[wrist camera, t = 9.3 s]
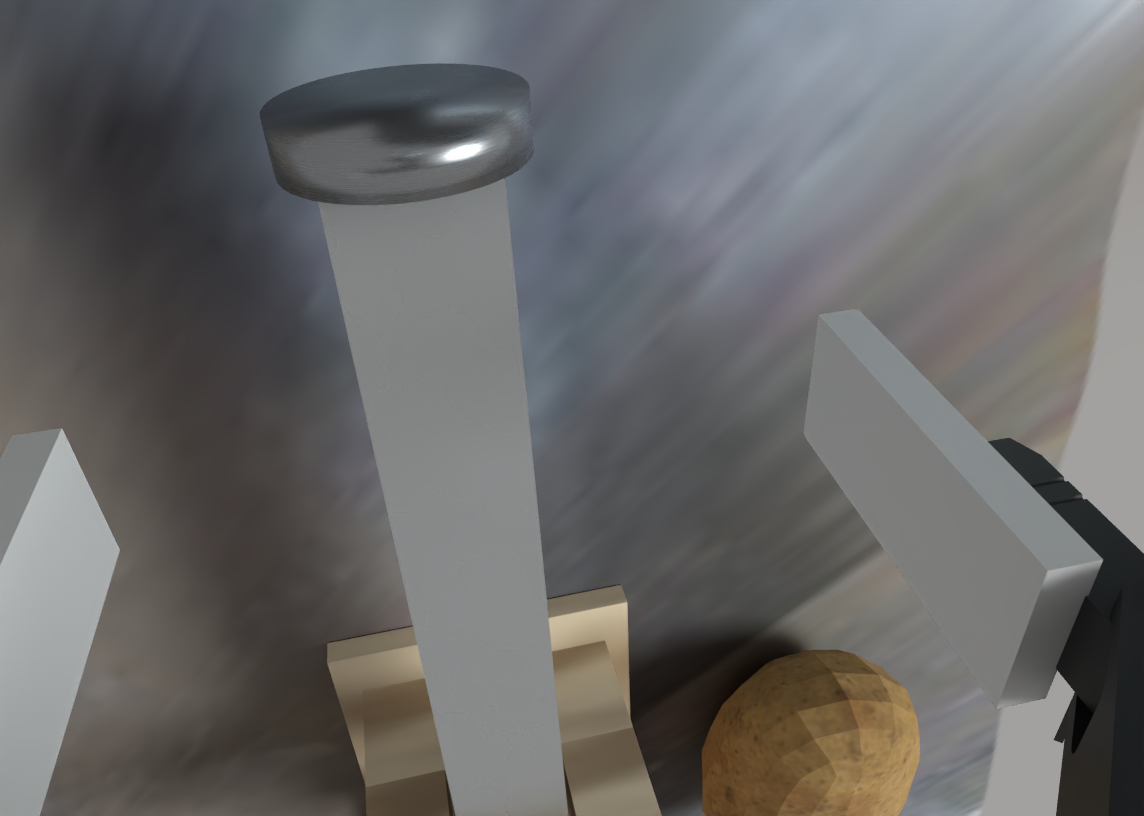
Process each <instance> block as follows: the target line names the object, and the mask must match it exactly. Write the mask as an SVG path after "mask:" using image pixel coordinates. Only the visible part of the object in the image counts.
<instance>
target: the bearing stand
mask: <svg viewBox="0 0 1144 816" xmlns="http://www.w3.org/2000/svg"><path fill="white" fill-rule="evenodd" d="M547 607H548V617H549V627H550V637H551V647H552V657H553V668H554V678H555V688H556V698H557V708H558V718H559V728H560V738H561V748H562V758H563V768H564V778H565V789H566V799H567V809H568V816H662V815H661V812H660V809H659V806H658V803H657V800H656V796H655V793H654V790H653V787H652V784H651V781H650V778H649V775H648V772H647V769H646V766H645V763H644V759H643V756H642V753H641V750H640V747H639V744H638V741H637V738H636V735H635V732H634V729H633V726H632V722H631V719H630V688H629V651H628V614H627V600H626V598H625V595H624V592H623V589H622V587H621V585H617V586H612V587H607V588H602V589H597V590H592V591H587V592H582V593H577V594H572V595H567V596H562V597H557V598H552V599H547ZM327 664H328V667H329V670H330V674H331V677H332V680H333V683H334V686H335V690H336V693H337V696H338V699H339V702H340V705H341V709H342V712H343V715H344V718H345V721H346V725H347V728H348V731H349V734H350V737H351V740H352V744H353V747H354V750H355V753H356V756H357V760H358V763H359V766H360V769H361V772H362V775H363V779H364V782H365V785H366V816H456V815H455V811H454V806H453V802H452V797H451V793H450V788H449V784H448V779H447V775H446V771H445V766H444V762H443V757H442V753H441V748H440V744H439V739H438V735H437V730H436V726H435V722H434V717H433V713H432V708H431V704H430V699H429V695H428V690H427V686H426V681H425V677H424V673H423V668H422V664H421V659H420V655H419V650H418V646H417V641H416V637H415V632H414V628H413V626H412V627H407V628H402V629H397V630H392V631H387V632H382V633H377V634H372V635H367V636H362V637H357V638H352V639H347V640H342V641H337V642H332V643H327Z"/></svg>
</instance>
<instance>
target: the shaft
mask: <svg viewBox="0 0 1144 816" xmlns="http://www.w3.org/2000/svg"><path fill="white" fill-rule="evenodd" d="M260 119H261V123H262V127H263V131H264V135H265V139H266V143H267V147H268V151H269V155H270V159H271V163H272V167H273V171H274V175H275V179H276V181H277V183H278V184H279V185H280V186H281V187H282V188H283V189H284V190H286V191H287V192H289V193H291V194H293V195H296V196H298V197H301V198H305V199H309V200H312V201H318V205H319V209H320V214H321V218H322V223H323V227H324V231H325V236H326V240H327V245H328V249H329V254H330V258H331V263H332V267H333V272H334V276H335V280H336V285H337V289H338V294H339V298H340V303H341V307H342V312H343V316H344V321H345V325H346V329H347V334H348V338H349V343H350V347H351V352H352V356H353V361H354V365H355V370H356V374H357V378H358V383H359V387H360V392H361V396H362V401H363V405H364V410H365V414H366V419H367V423H368V427H369V432H370V436H371V441H372V445H373V450H374V454H375V459H376V463H377V468H378V472H379V476H380V481H381V485H382V490H383V494H384V499H385V503H386V508H387V512H388V517H389V521H390V526H391V530H392V534H393V539H394V543H395V548H396V552H397V557H398V561H399V566H400V570H401V575H402V579H403V583H404V588H405V592H406V597H407V601H408V606H409V610H410V615H411V619H412V624H413V628H414V632H415V637H416V641H417V646H418V650H419V655H420V659H421V664H422V668H423V673H424V677H425V681H426V686H427V690H428V695H429V699H430V704H431V708H432V713H433V717H434V722H435V726H436V730H437V735H438V739H439V744H440V748H441V753H442V757H443V762H444V766H445V771H446V775H447V779H448V784H449V788H450V793H451V797H452V802H453V806H454V811H455V815H456V816H568V809H567V799H566V789H565V778H564V768H563V758H562V748H561V738H560V728H559V718H558V708H557V698H556V688H555V678H554V668H553V657H552V647H551V637H550V627H549V617H548V607H547V597H546V587H545V577H544V567H543V557H542V547H541V536H540V526H539V516H538V506H537V496H536V486H535V476H534V466H533V456H532V446H531V436H530V426H529V415H528V405H527V395H526V385H525V375H524V365H523V355H522V345H521V335H520V325H519V315H518V305H517V294H516V284H515V274H514V264H513V254H512V244H511V234H510V224H509V214H508V204H507V194H506V184H505V177H507V176H509V175H511V174H513V173H514V172H516V171H518V170H519V169H521V168H522V167H523V166H524V165H525V164H527V162H528V161H529V160H530V159H531V157H532V155H533V153H534V139H533V127H532V114H531V101H530V89H529V84H528V82H527V81H526V80H525V79H524V78H522V77H521V76H519V75H517V74H515V73H512V72H510V71H506V70H502V69H498V68H493V67H487V66H479V65H468V64H415V65H401V66H390V67H382V68H374V69H368V70H361V71H355V72H350V73H345V74H340V75H336V76H331V77H327V78H323V79H319V80H316V81H312V82H309V83H306V84H303V85H300V86H297V87H295V88H292V89H290V90H288V91H285V92H283V93H281V94H279V95H277V96H276V97H274V98H272V99H271V100H270V101H268V102H267V103H266V104H265V105H264V106H263V107H262V109H261V111H260Z"/></svg>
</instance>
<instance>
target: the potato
mask: <svg viewBox="0 0 1144 816" xmlns="http://www.w3.org/2000/svg"><path fill="white" fill-rule="evenodd" d="M919 760H920V735H919V728H918V722H917V716H916V713H915V710H914V708H913V705H912V703H911V700H910V697H909V695H908V692H907V690H906V689H905V688H904V687H903V686H902V685H901V684H900V683H898V682H897V681H896V680H895V679H894V678H893V677H892V676H890V675H889V674H888V673H887V672H886V671H885V670H884V669H882V668H881V667H879V666H877V665H875V664H873V663H871V662H869V661H867V660H865V659H863V658H861V657H859V656H857V655H855V654H851V653H847V652H843V651H840V650H806V651H803V652H799V653H796V654H792V655H788V656H785V657H781V658H778V659H774V660H772V661H771V662H769V663H767V664H765V665H764V666H763V667H762V668H761V669H759V670H758V671H757V672H756V673H755V674H754V675H753V676H751V677H750V678H749V679H748V680H747V681H746V682H745V683H743V684H742V685H741V686H740V687H739V688H738V689H737V690H736V691H735V692H734V693H733V694H732V696H731V697H730V698H729V699H728V700H727V701H726V702H725V703H724V704H723V705H722V706H721V708H720V710H719V712H718V714H717V716H716V718H715V720H714V722H713V723H712V725H711V727H710V730H709V732H708V735H707V738H706V740H705V743H704V746H703V748H702V778H703V806H702V810H703V812H704V814H705V815H706V816H898V815H899V813H900V812H901V810H902V808H903V807H904V805H905V802H906V799H907V796H908V793H909V790H910V787H911V784H912V781H913V778H914V775H915V772H916V769H917V766H918V763H919Z"/></svg>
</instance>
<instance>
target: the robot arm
mask: <svg viewBox="0 0 1144 816" xmlns="http://www.w3.org/2000/svg"><path fill="white" fill-rule="evenodd" d="M803 435H804V436H805V438H806V439H807V440H808V442H809V443H810V445H811V446H812V448H813V449H814V450H815V452H816V453H817V455H818V456H819V458H820V459H821V460H822V462H823V463H824V465H825V466H826V467H827V469H828V470H829V472H830V473H831V475H832V476H833V477H834V479H835V480H836V482H837V483H838V485H839V486H840V487H841V489H842V490H843V492H844V493H845V494H846V496H847V497H848V499H849V500H850V502H851V503H852V504H853V506H854V507H855V509H856V510H857V512H858V513H859V514H860V516H861V517H862V519H863V520H864V522H865V523H866V524H867V526H868V527H869V529H870V530H871V531H872V533H873V534H874V536H875V537H876V539H877V540H878V541H879V543H880V544H881V546H882V547H883V549H884V550H885V551H886V553H887V554H888V556H889V557H890V558H891V560H892V561H893V563H894V564H895V566H896V567H897V568H898V570H899V571H900V573H901V574H902V576H903V577H904V578H905V580H906V581H907V583H908V584H909V585H910V587H911V588H912V590H913V591H914V593H915V594H916V595H917V597H918V598H919V600H920V601H921V603H922V604H923V605H924V607H925V608H926V610H927V611H928V613H929V614H930V615H931V617H932V618H933V620H934V621H935V622H936V624H937V625H938V627H939V628H940V630H941V631H942V632H943V634H944V635H945V637H946V638H947V640H948V641H949V642H950V644H951V645H952V647H953V648H954V649H955V651H956V652H957V654H958V655H959V657H960V658H961V659H962V661H963V662H964V664H965V665H966V667H967V668H968V669H969V671H970V672H971V674H972V675H973V676H974V678H975V679H976V681H977V682H978V684H979V685H980V686H981V688H982V689H983V691H984V692H985V694H986V695H987V696H988V698H989V699H990V701H991V702H992V704H993V705H994V706H995V708H996V709H999V708H1004V707H1008V706H1013V705H1017V704H1022V703H1026V702H1031V701H1035V700H1040V699H1045V698H1046V696H1047V694H1048V691H1049V689H1050V686H1051V684H1052V682H1053V679H1054V677H1055V674H1056V672H1057V670H1058V672H1060V674H1061V675H1062V676H1063V678H1064V679H1065V680H1066V681H1067V683H1068V684H1069V685H1070V686H1071V688H1072V689H1073V690H1074V691H1075V693H1074V696H1073V698H1072V700H1071V702H1070V705H1069V707H1068V709H1067V711H1066V713H1065V716H1064V718H1063V720H1062V723H1061V725H1060V727H1059V729H1058V731H1057V734H1056V736H1055V738H1054V740H1055V741H1058V742H1061V743H1063V741H1064V739H1065V741H1064V750H1063V759H1062V768H1061V777H1060V785H1059V795H1058V803H1057V812H1056V816H1144V554H1143V553H1142V552H1141V551H1140V550H1139V549H1138V548H1137V547H1136V546H1135V545H1134V544H1133V543H1132V542H1131V541H1130V540H1129V539H1128V538H1127V537H1126V536H1125V535H1124V534H1123V533H1122V532H1121V531H1120V530H1118V529H1117V528H1116V527H1115V526H1114V525H1113V524H1112V523H1111V522H1110V521H1109V520H1108V519H1107V518H1106V517H1105V516H1104V515H1103V514H1102V513H1101V512H1100V511H1099V510H1098V509H1097V508H1096V507H1095V506H1094V505H1093V504H1091V503H1090V502H1089V501H1088V500H1087V499H1085V500H1084V499H1083V498H1082V494H1081V493H1080V492H1079V491H1078V490H1077V489H1076V488H1075V487H1074V486H1072V484H1070V482H1068V481H1066V482H1065V481H1064V477H1063V476H1062V475H1061V474H1060V473H1059V472H1058V471H1057V470H1056V469H1055V468H1054V467H1053V466H1052V465H1051V464H1050V463H1049V462H1048V461H1047V460H1046V459H1045V458H1044V457H1043V456H1042V455H1040V454H1038V453H1036V452H1035V451H1033V450H1031V449H1029V448H1027V447H1025V446H1024V445H1022V444H1020V443H1018V442H1016V441H1014V440H1013V439H1011V438H1005V439H999V440H994V441H987V440H986V439H985V438H984V437H983V436H982V435H981V434H980V433H979V432H978V431H977V430H976V429H975V428H974V427H973V426H972V425H971V424H970V423H969V422H968V421H967V420H966V419H965V418H964V417H963V416H962V415H961V414H960V413H959V412H958V411H957V410H956V409H955V408H954V407H953V406H952V405H951V404H950V403H949V402H948V401H947V400H946V398H945V397H944V396H943V395H942V394H941V393H940V392H939V391H938V390H937V389H936V388H935V387H934V386H933V385H932V384H931V383H930V382H929V381H928V380H927V379H926V378H925V377H924V376H923V375H922V374H921V373H920V372H919V371H918V370H917V369H916V368H915V367H914V366H913V365H912V364H911V363H910V362H909V361H908V360H907V359H906V358H905V357H904V356H903V355H902V354H901V352H900V351H899V350H898V349H897V348H896V347H895V346H894V345H893V344H892V343H891V342H890V341H889V340H888V339H887V338H886V337H885V336H884V335H883V334H882V333H881V332H880V331H879V330H878V329H877V328H876V327H875V326H874V325H873V324H872V323H871V322H870V321H869V320H868V319H867V318H866V317H865V316H864V315H863V314H862V313H861V312H860V311H859V310H858V309H854V310H847V311H841V312H834V313H827V314H821V315H819V317H818V325H817V333H816V341H815V348H814V356H813V364H812V372H811V379H810V387H809V395H808V403H807V410H806V418H805V426H804V434H803ZM119 551H120V549H119V547H118V545H117V543H116V541H115V539H114V537H113V535H112V532H111V530H110V528H109V526H108V524H107V522H106V520H105V518H104V516H103V514H102V511H101V509H100V507H99V505H98V503H97V501H96V499H95V497H94V495H93V492H92V490H91V488H90V486H89V484H88V482H87V480H86V478H85V476H84V474H83V471H82V469H81V467H80V465H79V463H78V461H77V459H76V457H75V455H74V452H73V450H72V448H71V446H70V444H69V442H68V440H67V438H66V436H65V434H64V431H63V429H62V428H59V429H53V430H46V431H39V432H33V433H26V434H19V435H13V436H11V438H10V440H9V442H8V444H7V446H6V448H5V450H4V452H3V454H2V455H1V457H0V816H40V813H41V810H42V806H43V803H44V800H45V796H46V793H47V790H48V786H49V783H50V780H51V777H52V773H53V770H54V767H55V763H56V760H57V757H58V753H59V750H60V747H61V743H62V740H63V737H64V733H65V730H66V727H67V724H68V720H69V717H70V714H71V710H72V707H73V704H74V700H75V697H76V694H77V690H78V687H79V684H80V681H81V677H82V674H83V671H84V667H85V664H86V661H87V657H88V654H89V651H90V647H91V644H92V641H93V637H94V634H95V631H96V628H97V624H98V621H99V618H100V614H101V611H102V608H103V604H104V601H105V598H106V594H107V591H108V588H109V584H110V581H111V578H112V575H113V571H114V568H115V565H116V561H117V558H118V555H119Z"/></svg>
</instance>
